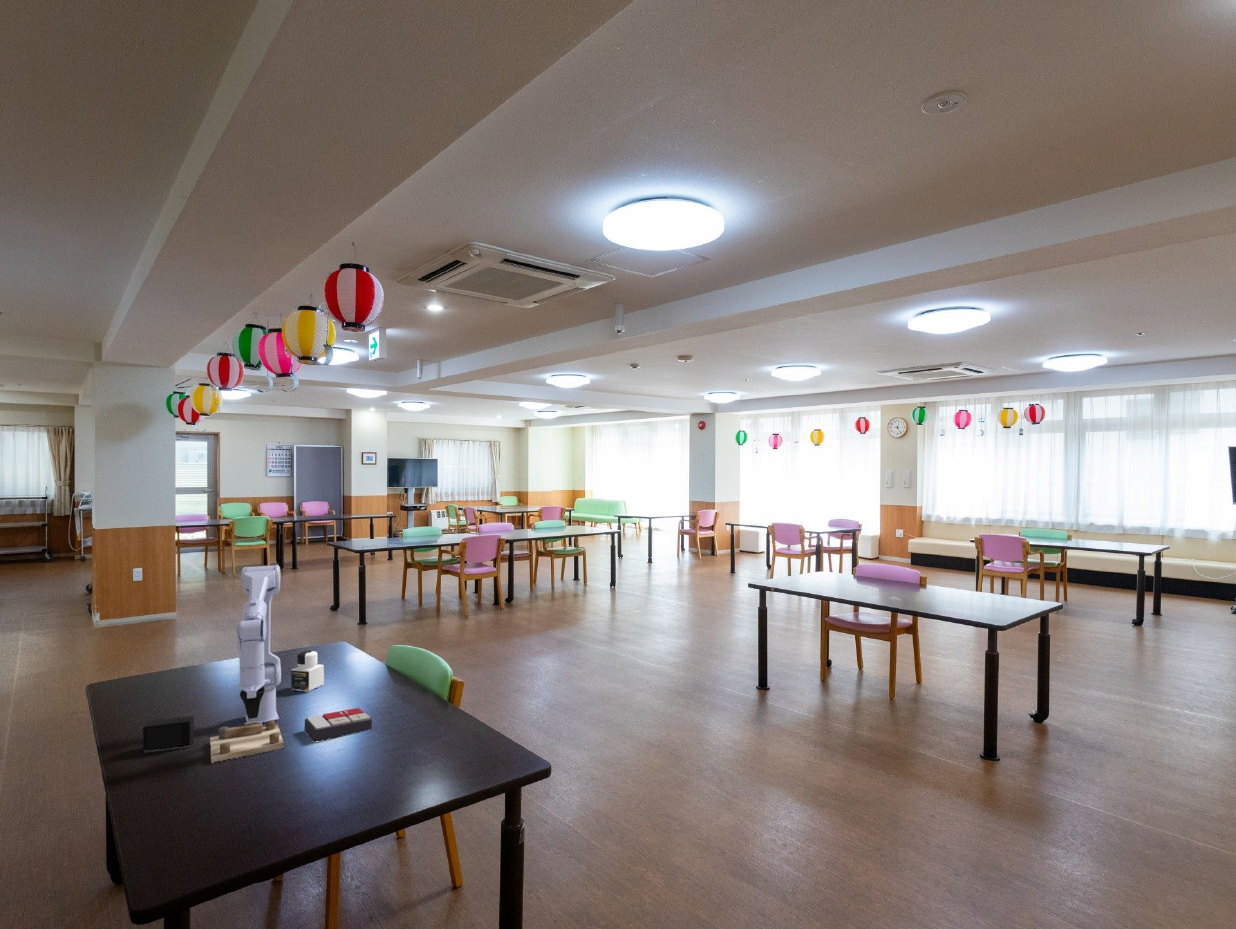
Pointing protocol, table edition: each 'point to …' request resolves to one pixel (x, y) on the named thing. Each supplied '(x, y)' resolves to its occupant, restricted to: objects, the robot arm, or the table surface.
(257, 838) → the table surface
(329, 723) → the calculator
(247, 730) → the folding leg
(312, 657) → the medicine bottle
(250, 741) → the stool seat
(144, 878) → the table surface
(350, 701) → the table surface
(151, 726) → the digital camera
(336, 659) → the table surface
